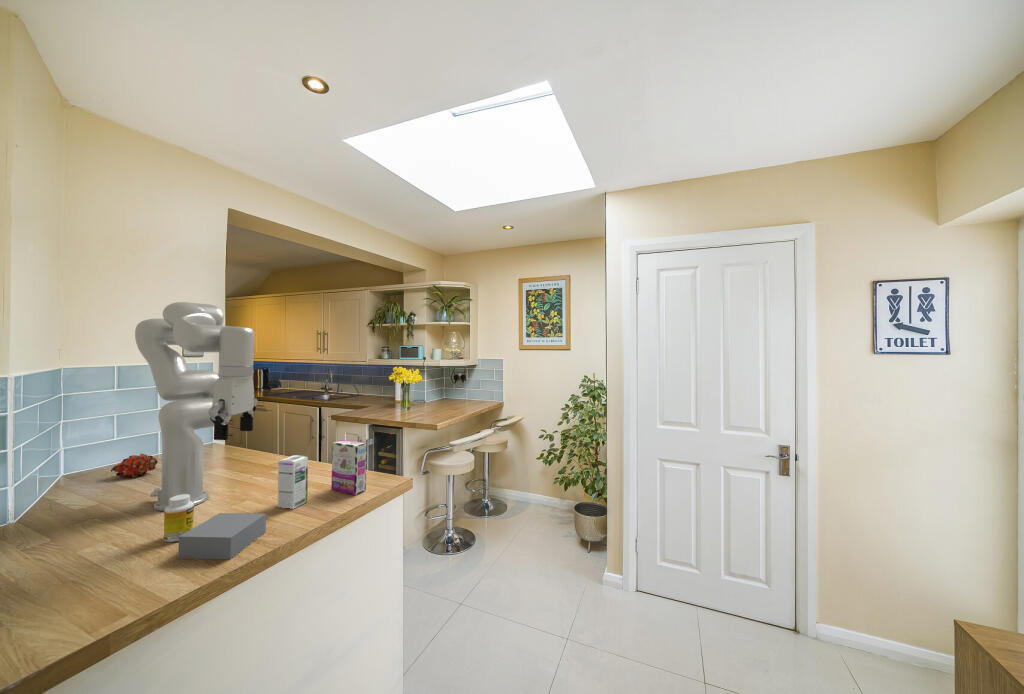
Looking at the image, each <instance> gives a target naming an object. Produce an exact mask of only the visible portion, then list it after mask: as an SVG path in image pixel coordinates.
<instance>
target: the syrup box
mask: <svg viewBox="0 0 1024 694" xmlns="http://www.w3.org/2000/svg"><path fill="white" fill-rule="evenodd" d="M308 461H309V457H308V456H306V455H301V454H299V455H296V454H295V455H291V456H289V457H286V458H283V459H280V460H278V462H277V465H278V466H277V507H278V508H280V507H281V508H280V509H285V508H290V509H289V510H295V509H296V508H298V507H300V506H302V505H303V504H305V502H306V503H307V502H308V498H309V497H308V495H309V493H308V490H309V489H308V488H309V487H308V479H309V476H308V475H309V473H308V471H309V469H308V468H309V467H308V465H309V462H308ZM294 508H295V509H294Z"/></svg>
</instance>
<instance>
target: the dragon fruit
mask: <svg viewBox="0 0 1024 694" xmlns="http://www.w3.org/2000/svg"><path fill="white" fill-rule="evenodd" d="M158 463H159V462H158V460H157V459H156V457H153V455H147V454H145V453H140V454H139V455H136V454H135V455H129V456H128V458H123V460H122V461H121V462H120V463H117V464H116V465H115V466H113V467H112V468H111V469H110V472H115V476H116V477H120V478H125V477H126V478H130V477H132V478H133V479H134V478H136V477H138V476H145V475H146V474H147V472H149V471H151V472H152V471H154V470H155V469H156V465H157V464H158Z"/></svg>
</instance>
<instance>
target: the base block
mask: <svg viewBox="0 0 1024 694" xmlns="http://www.w3.org/2000/svg"><path fill="white" fill-rule="evenodd" d="M266 527H267V513H247V512H245V513H243V512H242V513H241V512H220V513H218V514H216V515H214V516H212V517H210V518H209V519H207V520H205V521H204V522H201V523H200V524H198V525H196V526H195V527H193V529H191V530H189V531H188V532H186V533H184V534H182V535H181V536H179V541H178V548H177V549H178V552H177V553H178V555H177V556H178V557H177V558H178V559H189V558H190V559H191V558H197V559H199V560H200V559H202V560H232V559H233V558H234V557H236V556H237V555H238V554H240V553H241V552H243V551H244V550H245V549H246V548H247V547H246V546H248V545H249V544H250V543H251V542H253V541H254V540H255V539H257V538H258V537H259V538H261V537H262V536H263V535H265V534H266V533H265V532H266ZM264 533H265V534H264ZM262 534H263V535H262ZM261 535H262V536H261ZM260 536H261V537H260ZM259 538H258V539H259ZM258 539H257V540H258ZM255 541H256V540H255ZM255 541H254V542H255ZM254 542H253V543H254ZM250 545H251V544H250ZM250 545H249V546H250ZM249 546H248V547H249ZM245 547H246V548H245ZM244 548H245V549H244ZM243 549H244V550H243ZM240 551H241V552H240ZM239 552H240V553H239ZM237 553H238V554H237ZM236 554H237V555H236ZM235 555H236V556H235ZM233 556H234V557H233ZM232 557H233V558H232ZM231 558H232V559H231ZM190 559H189V560H190Z"/></svg>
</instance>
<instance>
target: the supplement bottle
mask: <svg viewBox="0 0 1024 694" xmlns="http://www.w3.org/2000/svg"><path fill="white" fill-rule="evenodd" d="M194 511H195V505H194V503H193V502H191V501H190V495H189V494H183V495H177V496H174V497H172V498H170V499H169V506H167V507H166V508H165V511H163V513H164V516H163V517H164V518H163V520H164V521H163V541H165V542H167V543H174V542H175V543H176V542H179V536H181V535H182V534H184V533H186V532H188V531H189V530H191V529H193V528H194V519H195V518H194V517H195V516H194V515H195V512H194Z"/></svg>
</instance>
